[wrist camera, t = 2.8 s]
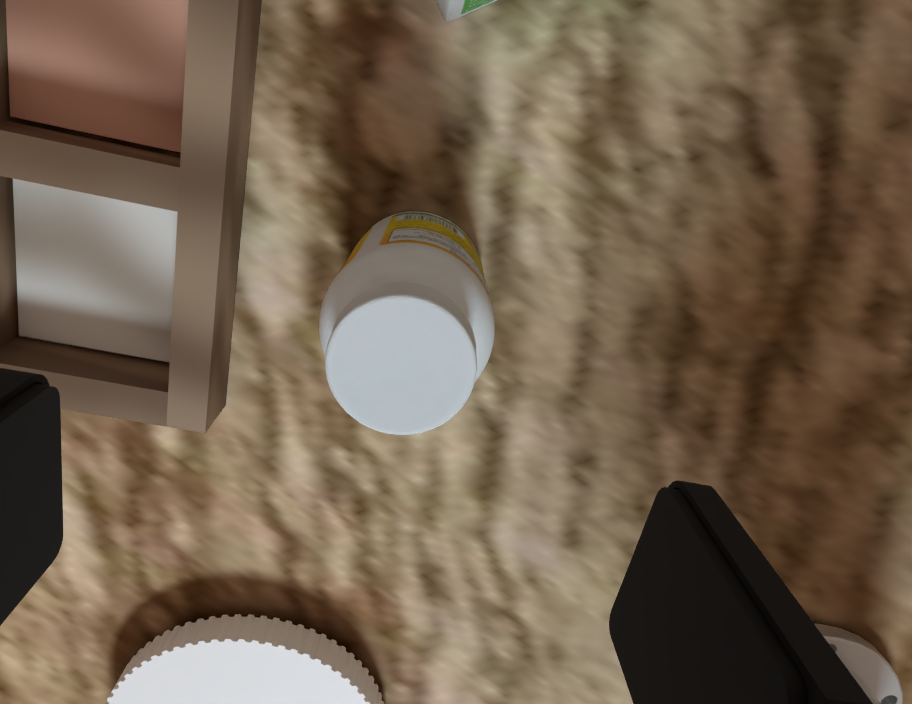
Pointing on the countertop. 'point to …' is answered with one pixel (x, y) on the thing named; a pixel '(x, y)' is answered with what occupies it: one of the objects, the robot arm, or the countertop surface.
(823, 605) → the countertop surface
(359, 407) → the supplement bottle
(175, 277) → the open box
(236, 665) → the plastic lid
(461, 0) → the skincare box
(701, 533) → the robot arm
